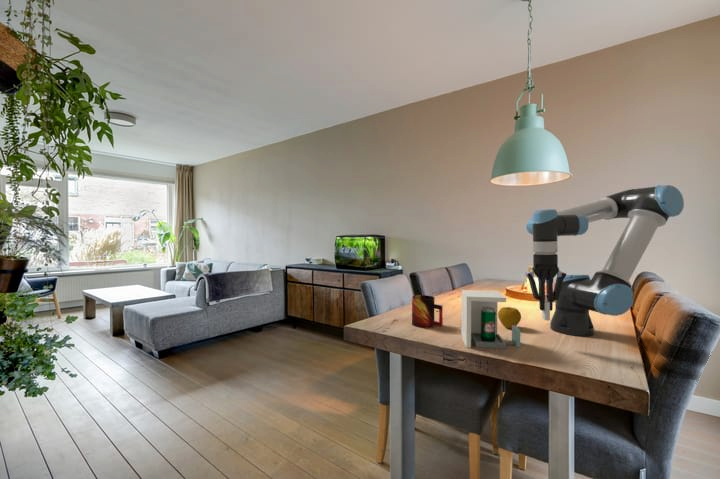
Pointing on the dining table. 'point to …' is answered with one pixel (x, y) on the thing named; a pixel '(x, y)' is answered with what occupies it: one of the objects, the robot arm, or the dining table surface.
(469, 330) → the cubby
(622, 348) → the dining table surface
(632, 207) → the robot arm
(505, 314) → the apple
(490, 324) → the soda can
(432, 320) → the mug
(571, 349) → the dining table surface
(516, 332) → the sled
